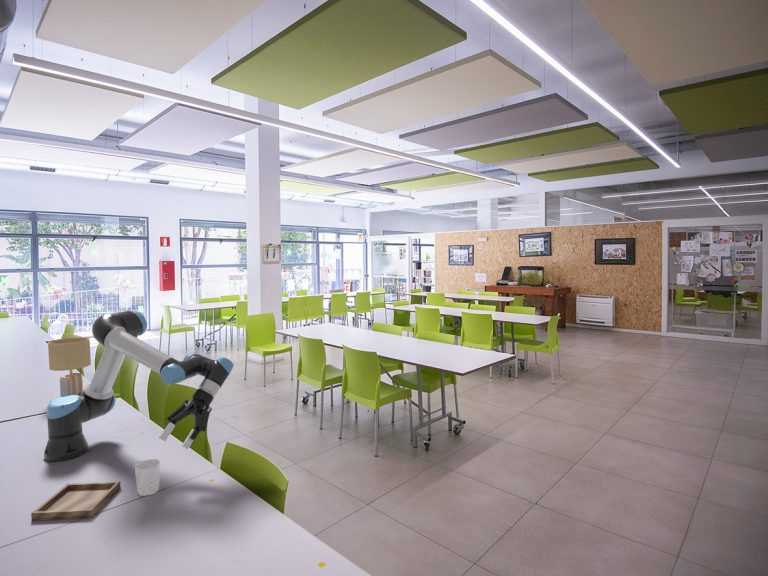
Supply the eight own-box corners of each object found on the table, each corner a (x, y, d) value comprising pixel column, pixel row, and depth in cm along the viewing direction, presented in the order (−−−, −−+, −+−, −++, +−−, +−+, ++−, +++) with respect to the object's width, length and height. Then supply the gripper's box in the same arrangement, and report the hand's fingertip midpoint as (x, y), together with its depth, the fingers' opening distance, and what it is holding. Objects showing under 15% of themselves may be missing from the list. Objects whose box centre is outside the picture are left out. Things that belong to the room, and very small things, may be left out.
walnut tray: (31, 520, 138) (31, 513, 137) (67, 490, 155) (67, 483, 155) (91, 517, 139) (91, 510, 139) (120, 488, 157) (120, 481, 157)
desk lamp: (77, 406, 242) (73, 344, 240) (42, 406, 243) (38, 343, 240) (100, 395, 262) (97, 337, 259) (68, 395, 262) (65, 337, 259)
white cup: (135, 499, 150) (134, 471, 149) (136, 488, 157) (135, 461, 156) (161, 493, 153) (160, 466, 153) (160, 483, 160) (159, 457, 160)
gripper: (233, 402, 170) (201, 454, 159) (191, 392, 183) (159, 440, 171) (221, 393, 166) (188, 446, 154) (180, 383, 178) (146, 432, 166)
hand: (173, 443), depth 162 cm, fingers open, 13 cm apart
